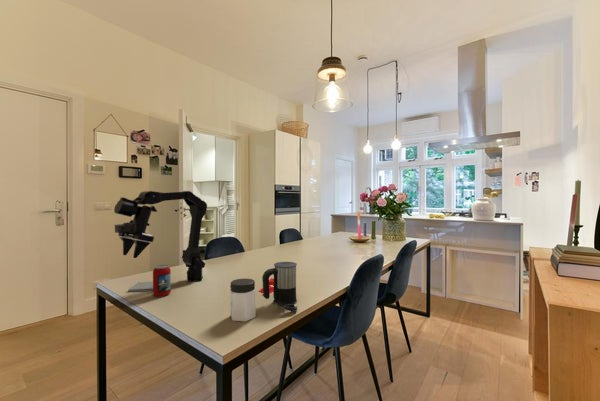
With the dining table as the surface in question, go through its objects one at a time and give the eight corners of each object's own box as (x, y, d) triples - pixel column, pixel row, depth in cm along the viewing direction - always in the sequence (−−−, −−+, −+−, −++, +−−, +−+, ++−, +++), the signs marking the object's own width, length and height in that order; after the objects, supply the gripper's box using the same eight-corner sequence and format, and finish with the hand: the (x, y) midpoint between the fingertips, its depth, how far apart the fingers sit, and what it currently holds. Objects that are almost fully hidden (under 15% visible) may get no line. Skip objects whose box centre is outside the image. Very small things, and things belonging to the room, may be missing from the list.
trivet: (162, 282, 136) (162, 280, 136) (155, 290, 125) (155, 288, 125) (138, 284, 134) (137, 282, 134) (128, 292, 123) (128, 289, 123)
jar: (245, 309, 103) (245, 276, 103) (260, 315, 98) (260, 280, 98) (224, 317, 97) (224, 282, 96) (239, 324, 91) (239, 287, 91)
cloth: (273, 299, 116) (273, 293, 116) (244, 295, 120) (244, 289, 120) (296, 281, 140) (296, 276, 140) (271, 278, 145) (271, 274, 145)
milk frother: (286, 295, 118) (286, 260, 118) (314, 305, 106) (314, 266, 106) (258, 304, 108) (258, 266, 108) (286, 317, 96) (285, 274, 96)
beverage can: (163, 298, 116) (163, 268, 115) (149, 296, 117) (149, 268, 117) (174, 292, 122) (174, 264, 122) (160, 291, 124) (160, 264, 123)
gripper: (111, 214, 119) (98, 251, 115) (131, 215, 108) (118, 256, 104) (138, 220, 128) (126, 254, 124) (159, 222, 117) (148, 260, 113)
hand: (129, 256), depth 116 cm, fingers open, 9 cm apart
